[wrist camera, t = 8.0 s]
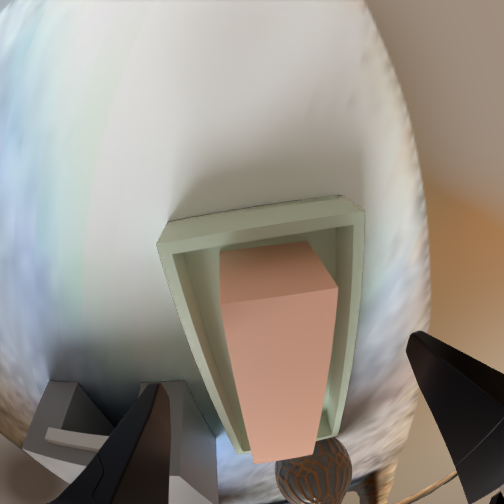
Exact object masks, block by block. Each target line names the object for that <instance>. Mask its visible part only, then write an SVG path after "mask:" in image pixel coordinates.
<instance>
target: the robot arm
mask: <svg viewBox="0 0 504 504" xmlns="http://www.w3.org/2000/svg"><path fill="white" fill-rule="evenodd" d="M406 353H407V356H408V359H409V361H410V364H411V367H412V369H413V372H414V375H415V377H416V380H417V383H418V385H419V387H420V389H421V391H422V394H423V395H424V398H425V400H426V402H427V404H428V406H429V408H430V410H431V412H432V414H433V416H434V419H435V421H436V423H437V425H438V427H439V430H440V432H441V434H442V436H443V439H444V441H445V443H446V446H447V448H448V450H449V453H450V455H451V458H452V460H453V463H454V465H455V468H456V471H457V473H458V476H459V479H460V481H461V484H462V486H463V490H464V492H465V495H466V498H467V501H468V504H472V503H474V502H476V501H478V500H479V499H481V498H483V497H485V496H486V495H488V494H490V493H491V492H493V491H494V490H496V489H498V488H500V491H499V492H498V493H497V494H496V495H494V496H493V497H492V498H491V501H490V504H504V374H503V373H501V372H499V371H497V370H495V369H493V368H491V367H489V366H487V365H486V364H484V363H482V362H480V361H478V360H476V359H474V358H472V357H470V356H469V355H467V354H465V353H463V352H461V351H459V350H457V349H455V348H453V347H451V346H450V345H447V344H446V343H444V342H442V341H440V340H438V339H436V338H434V337H432V336H430V335H429V334H427V333H425V332H423V331H416V332H414V333H411V335H410V337H409V341H408V344H407V347H406ZM170 454H171V419H170V399H169V396H168V394H167V392H166V390H165V389H164V387H163V385H162V384H161V383H160V382H153V383H149V384H148V385H147V386H146V388H145V389H144V390H143V392H142V393H141V394H140V396H139V397H138V398H137V400H136V401H135V402H134V404H133V405H132V406H131V408H130V409H129V410H128V412H127V413H126V414H125V416H124V417H123V418H122V420H121V421H120V422H119V424H118V425H117V426H116V428H115V429H114V430H113V432H112V433H111V434H110V436H109V437H108V439H107V440H106V441H105V443H104V444H103V445H102V447H101V448H100V449H99V451H98V453H96V455H95V456H94V457H93V459H92V460H91V461H90V462H89V464H88V465H87V466H86V468H85V469H84V470H83V471H82V472H81V473H80V474H79V476H78V477H77V478H76V479H75V480H74V481H73V482H72V483H71V484H70V485H69V486H68V487H67V488H66V489H65V490H64V491H63V492H62V493H61V494H60V495H59V496H58V497H57V498H56V499H55V500H53V501H51V502H49V503H47V504H169V475H170Z"/></svg>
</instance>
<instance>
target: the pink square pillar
mask: <svg viewBox="0 0 504 504" xmlns="http://www.w3.org/2000/svg"><path fill="white" fill-rule="evenodd" d="M337 299H338V286H337V284H336V283H335V281H334V280H333V278H332V277H331V275H330V274H329V272H328V271H327V269H326V268H325V266H324V265H323V263H322V262H321V260H320V259H319V257H318V256H317V254H316V253H315V251H314V250H313V248H312V247H311V246H310V244H309V243H308V241H303V242H294V243H286V244H278V245H269V246H261V247H253V248H244V249H236V250H228V251H220V252H219V304H220V310H221V315H222V320H223V326H224V331H225V336H226V341H227V346H228V351H229V356H230V361H231V365H232V370H233V375H234V379H235V384H236V389H237V393H238V398H239V402H240V406H241V411H242V415H243V419H244V424H245V428H246V432H247V436H248V440H249V444H250V448H251V452H252V456H253V460H254V464H258V463H266V462H273V461H280V460H286V459H291V458H297V457H302V456H307V455H312V454H313V451H314V447H315V442H316V438H317V433H318V428H319V423H320V418H321V413H322V408H323V402H324V397H325V391H326V385H327V379H328V373H329V366H330V359H331V352H332V344H333V336H334V328H335V319H336V309H337Z"/></svg>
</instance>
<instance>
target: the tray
mask: <svg viewBox="0 0 504 504" xmlns="http://www.w3.org/2000/svg"><path fill="white" fill-rule="evenodd" d="M364 231H365V211H364V210H362V209H361V208H360V207H358V206H357V205H355V204H354V203H352V202H351V201H349V200H348V199H346V198H345V197H343V196H342V195H336V196H328V197H320V198H313V199H305V200H298V201H290V202H283V203H277V204H270V205H263V206H257V207H250V208H244V209H238V210H232V211H226V212H220V213H214V214H208V215H202V216H197V217H191V218H186V219H180V220H175V221H170V222H167V224H166V226H165V228H164V230H163V232H162V234H161V236H160V238H159V240H158V241H157V243H156V246H157V249H158V253H159V256H160V260H161V263H162V266H163V270H164V273H165V276H166V279H167V282H168V286H169V289H170V292H171V295H172V298H173V301H174V304H175V307H176V310H177V313H178V315H179V318H180V321H181V324H182V327H183V330H184V332H185V335H186V338H187V340H188V343H189V346H190V348H191V351H192V354H193V356H194V359H195V361H196V364H197V366H198V369H199V371H200V374H201V376H202V379H203V381H204V383H205V386H206V388H207V391H208V393H209V395H210V398H211V400H212V402H213V404H214V407H215V409H216V411H217V413H218V416H219V418H220V420H221V422H222V424H223V426H224V428H225V431H226V433H227V435H228V437H229V439H230V441H231V443H232V445H233V447H234V449H235V451H236V453H237V455H238V454H247V453H252V452H251V448H250V444H249V440H248V436H247V432H246V428H245V424H244V419H243V415H242V411H241V406H240V402H239V398H238V393H237V389H236V384H235V379H234V375H233V370H232V365H231V361H230V356H229V351H228V346H227V341H226V336H225V331H224V326H223V320H222V315H221V310H220V304H219V252H220V251H228V250H236V249H244V248H253V247H261V246H269V245H278V244H286V243H294V242H303V241H308V243H309V244H310V246H311V247H312V248H313V250H314V251H315V253H316V254H317V256H318V257H319V259H320V260H321V262H322V263H323V265H324V266H325V268H326V269H327V271H328V272H329V274H330V275H331V277H332V278H333V280H334V281H335V283H336V284H337V286H338V299H337V309H336V319H335V328H334V336H333V344H332V352H331V359H330V366H329V373H328V379H327V385H326V391H325V397H324V402H323V408H322V413H321V418H320V423H319V428H318V433H317V438H316V441H319V440H323V439H327V438H331V437H334V436H338V432H339V428H340V424H341V419H342V415H343V410H344V406H345V401H346V396H347V391H348V385H349V380H350V374H351V368H352V362H353V356H354V349H355V342H356V335H357V327H358V318H359V309H360V299H361V287H362V274H363V257H364Z"/></svg>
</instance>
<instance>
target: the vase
mask: <svg viewBox="0 0 504 504" xmlns="http://www.w3.org/2000/svg"><path fill="white" fill-rule="evenodd" d="M275 476H276V481H277V485H278V487H279V489H280V491H281V493H282V494H283V496H284V497H285V498H286V499H287V500H288V501H289V502H290V503H291V504H341V502H342V500H343V498H344V496H345V494H346V492H347V490H348V488H349V486H350V483H351V479H352V464H351V460H350V457H349V455H348V453H347V450H346V449H345V447H344V446H343V445H342V443H341V442H340V441H339V440H338V439H336V438H335V437H331V438H327V439H323V440H319V441H316V442H315V447H314V451H313V454H312V455H307V456H302V457H297V458H291V459H286V460H280V461H276V463H275Z"/></svg>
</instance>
